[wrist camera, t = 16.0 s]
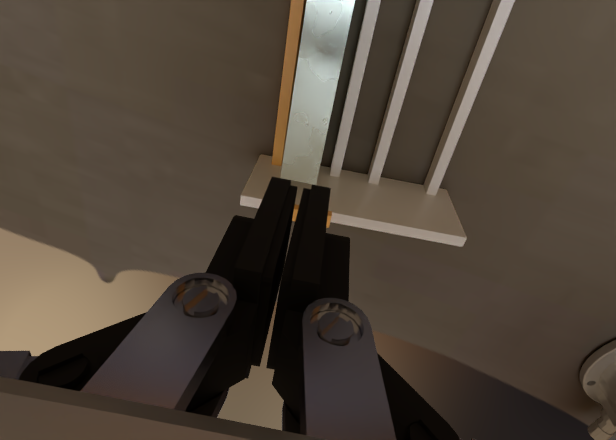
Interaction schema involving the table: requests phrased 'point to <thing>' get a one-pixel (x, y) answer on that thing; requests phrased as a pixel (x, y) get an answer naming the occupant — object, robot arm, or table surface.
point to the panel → (315, 86)
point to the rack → (382, 137)
